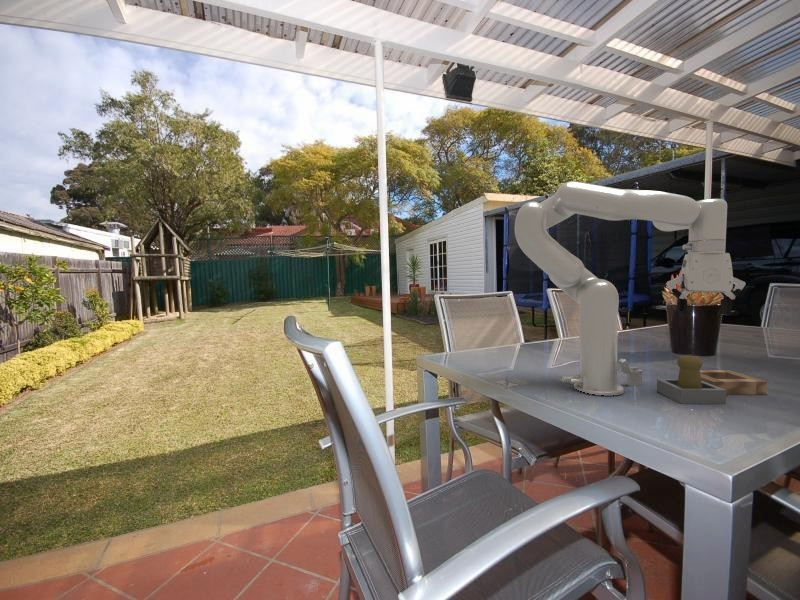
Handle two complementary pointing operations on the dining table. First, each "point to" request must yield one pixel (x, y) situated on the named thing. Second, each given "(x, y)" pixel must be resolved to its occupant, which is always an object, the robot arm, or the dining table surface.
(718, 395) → the grey square frame
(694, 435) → the dining table surface
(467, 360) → the dining table surface
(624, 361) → the lighter
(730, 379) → the socket block
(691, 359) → the cork
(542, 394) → the dining table surface
